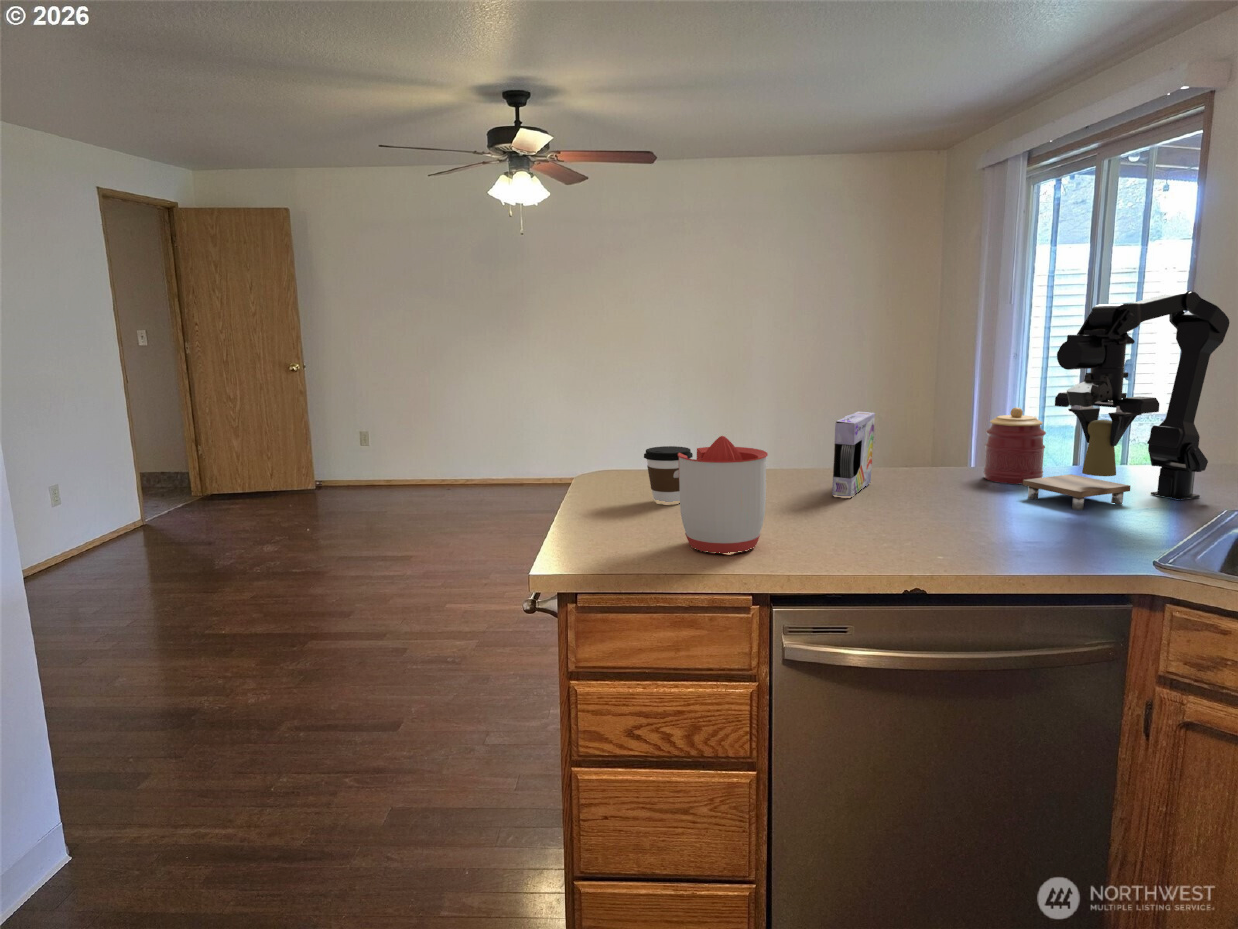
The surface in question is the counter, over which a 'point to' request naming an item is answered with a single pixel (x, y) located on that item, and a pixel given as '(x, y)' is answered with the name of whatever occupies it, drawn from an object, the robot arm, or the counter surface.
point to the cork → (1100, 450)
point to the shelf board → (1076, 485)
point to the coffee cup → (665, 471)
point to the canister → (1014, 448)
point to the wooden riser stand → (1076, 498)
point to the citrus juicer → (723, 496)
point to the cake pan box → (853, 453)
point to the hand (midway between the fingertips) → (1101, 444)
